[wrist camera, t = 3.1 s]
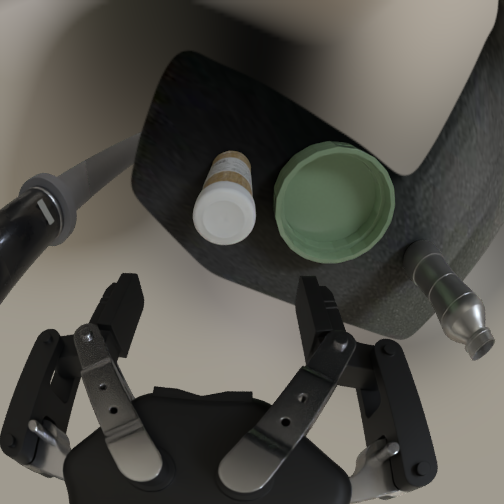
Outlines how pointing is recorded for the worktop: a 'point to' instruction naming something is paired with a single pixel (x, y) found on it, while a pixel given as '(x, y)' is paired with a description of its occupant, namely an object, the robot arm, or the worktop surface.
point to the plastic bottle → (449, 298)
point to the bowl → (333, 202)
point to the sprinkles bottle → (226, 201)
